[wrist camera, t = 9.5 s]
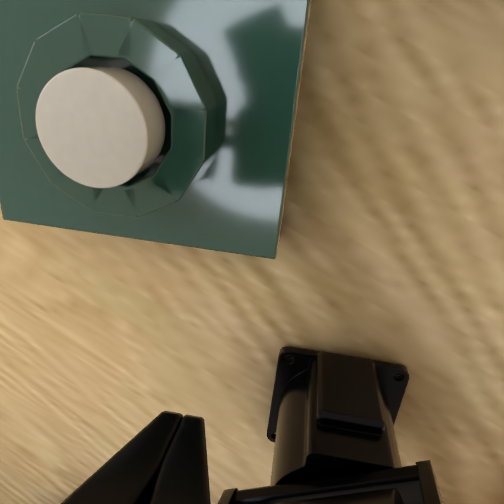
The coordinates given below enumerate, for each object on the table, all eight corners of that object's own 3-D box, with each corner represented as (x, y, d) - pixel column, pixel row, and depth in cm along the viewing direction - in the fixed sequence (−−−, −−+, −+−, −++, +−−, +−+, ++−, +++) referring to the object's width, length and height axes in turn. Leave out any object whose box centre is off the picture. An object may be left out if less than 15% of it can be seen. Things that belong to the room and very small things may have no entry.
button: (166, 72, 14) (146, 74, 12) (165, 181, 15) (148, 195, 14) (59, 59, 14) (26, 61, 12) (70, 168, 15) (42, 181, 14)
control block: (313, -17, 15) (312, -39, 11) (279, 239, 19) (271, 281, 16) (-3, -46, 16) (-94, -74, 12) (32, 204, 20) (-29, 236, 17)
